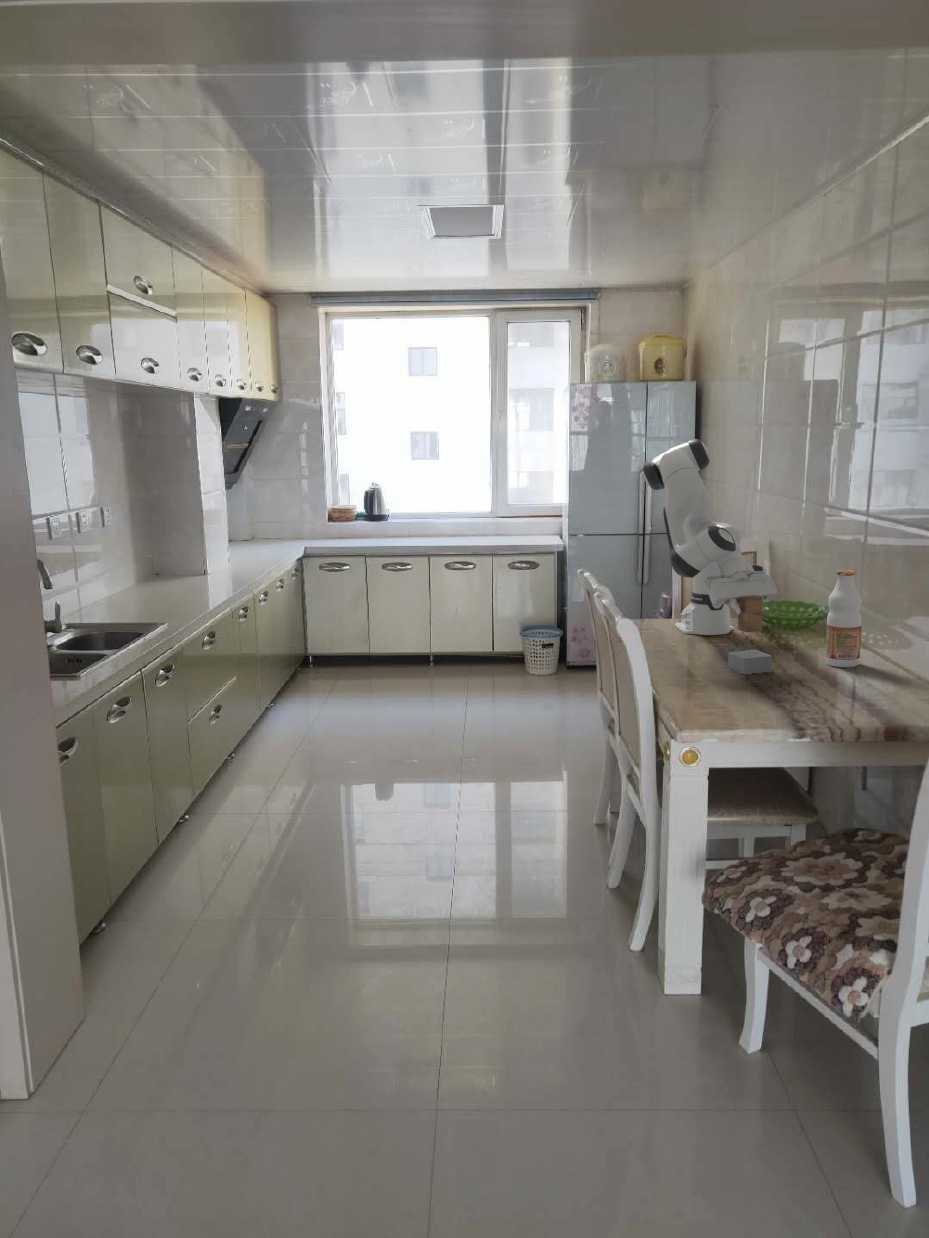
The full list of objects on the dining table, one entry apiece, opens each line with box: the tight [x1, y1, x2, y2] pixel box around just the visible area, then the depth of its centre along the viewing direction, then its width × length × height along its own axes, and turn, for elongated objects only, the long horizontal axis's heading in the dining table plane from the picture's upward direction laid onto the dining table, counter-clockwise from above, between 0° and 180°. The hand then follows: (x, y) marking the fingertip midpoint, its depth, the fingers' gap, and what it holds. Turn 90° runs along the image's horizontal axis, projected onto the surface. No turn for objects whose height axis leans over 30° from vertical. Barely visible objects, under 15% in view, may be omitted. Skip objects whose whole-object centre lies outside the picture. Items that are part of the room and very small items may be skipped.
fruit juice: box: [825, 569, 863, 668], centre depth 266 cm, size 9×9×28 cm
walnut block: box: [737, 595, 764, 633], centre depth 263 cm, size 5×5×10 cm
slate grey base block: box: [727, 649, 773, 676], centre depth 266 cm, size 9×9×5 cm
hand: (751, 612), depth 263 cm, fingers closed on walnut block, 5 cm apart
